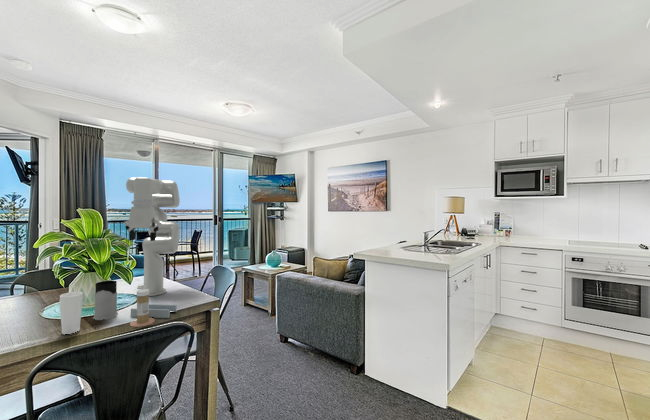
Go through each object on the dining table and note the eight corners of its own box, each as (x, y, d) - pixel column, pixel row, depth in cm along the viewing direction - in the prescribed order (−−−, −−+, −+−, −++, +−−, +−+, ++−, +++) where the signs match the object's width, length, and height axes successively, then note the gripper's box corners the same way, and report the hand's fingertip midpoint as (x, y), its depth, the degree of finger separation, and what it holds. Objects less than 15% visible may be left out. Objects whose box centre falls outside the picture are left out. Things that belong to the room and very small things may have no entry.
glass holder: (89, 321, 123) (90, 286, 123) (102, 309, 137) (103, 277, 136) (113, 318, 126) (114, 284, 126) (124, 307, 140) (124, 276, 139)
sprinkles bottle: (147, 318, 127) (148, 288, 126) (150, 321, 123) (150, 290, 123) (135, 321, 124) (135, 289, 123) (137, 324, 120) (137, 292, 120)
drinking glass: (54, 335, 110) (54, 296, 109) (72, 327, 116) (73, 290, 116) (68, 337, 109) (69, 297, 108) (86, 329, 115) (87, 292, 115)
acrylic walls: (130, 316, 129) (130, 308, 129) (140, 311, 136) (140, 303, 136) (168, 318, 129) (168, 310, 129) (176, 312, 136) (176, 304, 136)
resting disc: (124, 326, 119) (124, 325, 119) (139, 318, 128) (139, 317, 128) (146, 327, 119) (146, 326, 119) (159, 318, 128) (159, 317, 128)
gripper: (119, 203, 132) (118, 240, 132) (156, 204, 132) (156, 242, 132) (130, 203, 139) (129, 238, 140) (166, 204, 139) (165, 239, 139)
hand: (142, 240), depth 136 cm, fingers open, 9 cm apart
